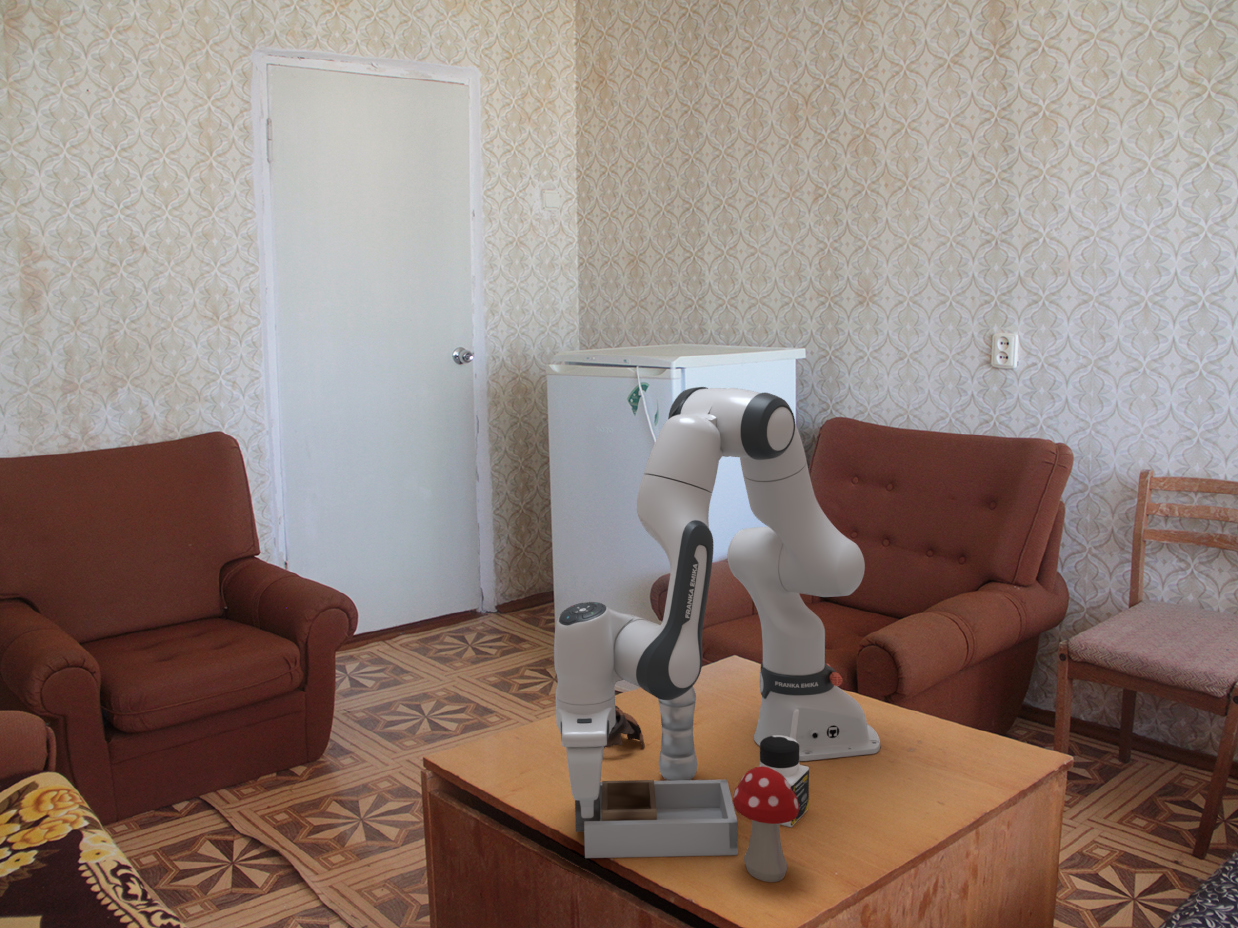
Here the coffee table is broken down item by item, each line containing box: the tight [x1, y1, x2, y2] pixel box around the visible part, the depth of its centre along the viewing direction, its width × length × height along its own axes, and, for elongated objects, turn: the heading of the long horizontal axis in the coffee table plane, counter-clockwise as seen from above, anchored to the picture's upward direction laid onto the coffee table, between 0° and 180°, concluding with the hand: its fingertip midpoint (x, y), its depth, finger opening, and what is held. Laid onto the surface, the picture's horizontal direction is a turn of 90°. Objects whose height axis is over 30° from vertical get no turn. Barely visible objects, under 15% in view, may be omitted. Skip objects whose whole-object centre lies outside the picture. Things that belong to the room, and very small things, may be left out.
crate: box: [574, 779, 657, 833], centre depth 155 cm, size 12×10×7 cm
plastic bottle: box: [657, 685, 698, 781], centre depth 173 cm, size 6×7×20 cm
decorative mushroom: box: [732, 766, 799, 883], centre depth 144 cm, size 10×9×15 cm
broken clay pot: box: [604, 704, 646, 750], centre depth 188 cm, size 12×10×8 cm
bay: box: [583, 779, 739, 859], centre depth 156 cm, size 22×14×5 cm, turn 90°
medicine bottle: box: [757, 735, 810, 828], centre depth 161 cm, size 7×7×12 cm
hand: (588, 800), depth 156 cm, fingers open, 8 cm apart
